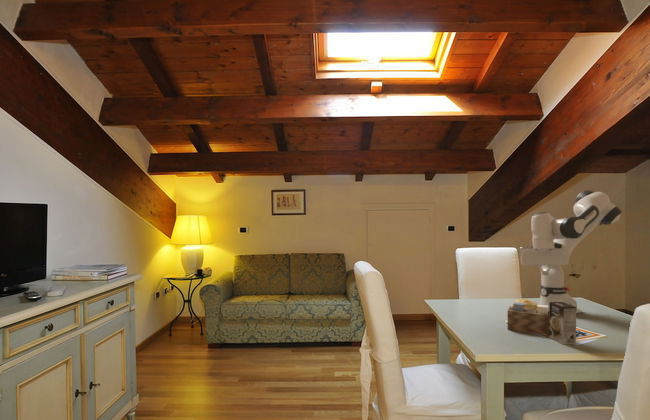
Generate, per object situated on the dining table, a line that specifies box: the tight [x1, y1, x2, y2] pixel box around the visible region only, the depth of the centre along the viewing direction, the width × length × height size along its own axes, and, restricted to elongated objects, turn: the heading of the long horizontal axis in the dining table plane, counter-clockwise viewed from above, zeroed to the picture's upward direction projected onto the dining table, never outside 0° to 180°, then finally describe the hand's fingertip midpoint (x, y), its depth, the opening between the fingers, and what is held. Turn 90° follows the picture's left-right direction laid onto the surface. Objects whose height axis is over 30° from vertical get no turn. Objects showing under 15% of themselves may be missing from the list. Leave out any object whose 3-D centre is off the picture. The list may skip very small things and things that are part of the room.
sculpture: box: [511, 298, 538, 309], centre depth 206 cm, size 11×12×11 cm
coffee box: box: [549, 302, 577, 345], centre depth 172 cm, size 9×6×16 cm
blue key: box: [512, 301, 524, 312], centre depth 191 cm, size 4×4×4 cm
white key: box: [536, 303, 548, 314], centre depth 186 cm, size 4×4×4 cm
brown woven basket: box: [507, 305, 550, 336], centre depth 188 cm, size 19×10×9 cm, turn 59°
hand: (545, 274), depth 188 cm, fingers closed
